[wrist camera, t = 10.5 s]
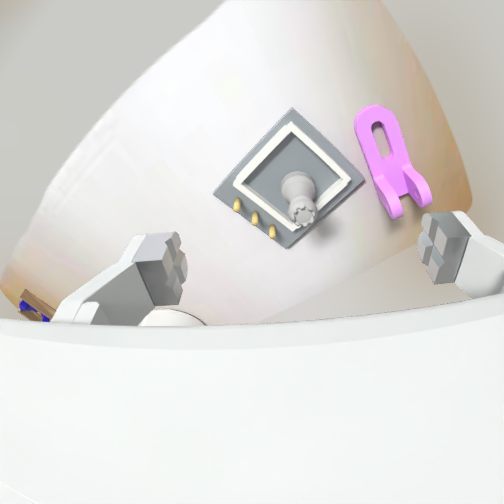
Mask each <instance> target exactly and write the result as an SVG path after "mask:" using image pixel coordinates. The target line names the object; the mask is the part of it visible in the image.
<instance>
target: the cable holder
mask: <svg viewBox="0 0 504 504" xmlns="http://www.w3.org/2000/svg"><path fill="white" fill-rule="evenodd" d="M19 308H20V309H21V310H23V311H25V310H27V311H34V312H36V313H37V310H36V309H35V308H33V307H32V306H30V305H29V304H28V303H26V302H25V301H24V300H22V301H21V302H20V305H19ZM41 315H42V322H50V320H51V319H49V318H48V317H46V316H45V315H43V314H42V313H41Z"/></svg>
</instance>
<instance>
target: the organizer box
mask: <svg viewBox="0 0 504 504" xmlns="http://www.w3.org/2000/svg"><path fill="white" fill-rule="evenodd" d="M22 300H24V301H25V302H26V303H28V304H29V305H30V306H32V307H33V308H35V309H36V310H37V311H39V312H40V313H42V314H43V315H45V316H46V317H48V318H49V319H51V320H52V318H53V316H54V314H55V313H56V310H54V309H53V308H52V307H50V306H49V305H47V304H46V303H44V302H43V301H41V300H40V299H39V298H37V297H36V296H34V295H33V294H32V293H30V292H29V291H27V290H26V289H25V290H24V292H23V293H22V295H21V296H20V301H19V305H20V302H21V301H22ZM18 312H19V313H21V314H22V315H23V316H25V317H26V318H28V319H29V320H30V321H39V322H42V316H40V315H39V314H37V313H36V312H34V311H27V310H25V311H23V310H21V309H20V308H19V307H18Z"/></svg>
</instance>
